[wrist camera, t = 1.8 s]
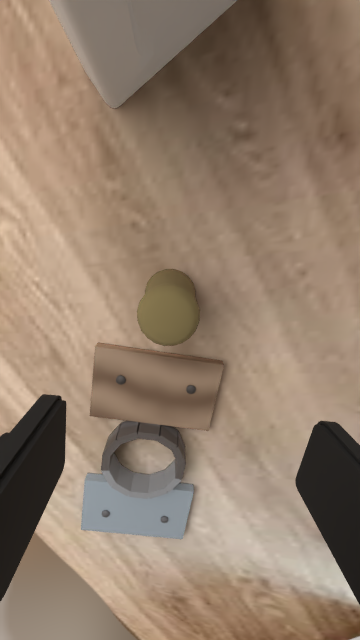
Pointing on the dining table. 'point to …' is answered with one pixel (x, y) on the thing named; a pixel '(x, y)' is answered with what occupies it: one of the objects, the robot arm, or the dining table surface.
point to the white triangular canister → (131, 37)
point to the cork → (168, 308)
